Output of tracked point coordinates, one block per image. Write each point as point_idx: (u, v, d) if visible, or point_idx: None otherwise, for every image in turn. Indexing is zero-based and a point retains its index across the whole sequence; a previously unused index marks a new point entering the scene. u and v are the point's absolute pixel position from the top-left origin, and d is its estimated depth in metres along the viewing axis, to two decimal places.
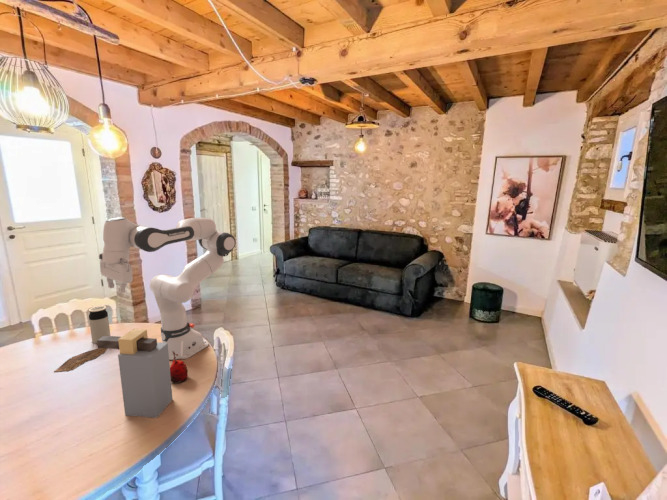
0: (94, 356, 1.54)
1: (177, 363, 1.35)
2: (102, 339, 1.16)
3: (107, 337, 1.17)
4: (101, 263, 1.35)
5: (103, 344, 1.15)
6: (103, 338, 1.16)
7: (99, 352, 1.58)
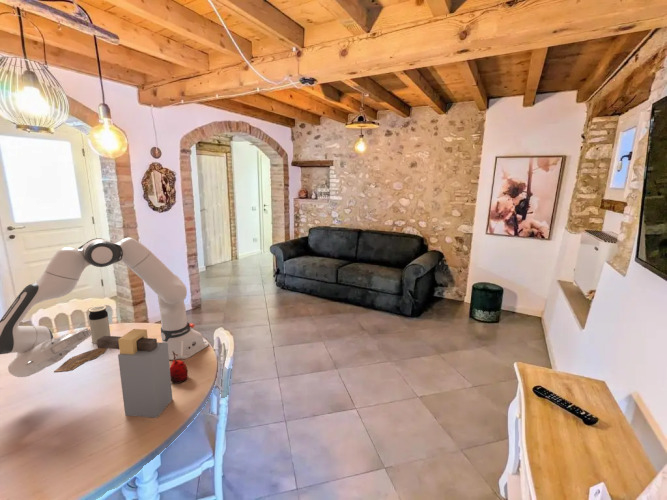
0: (94, 356, 1.54)
1: (177, 363, 1.35)
2: (102, 339, 1.16)
3: (107, 337, 1.17)
4: (79, 342, 1.27)
5: (103, 344, 1.15)
6: (103, 338, 1.16)
7: (99, 352, 1.58)
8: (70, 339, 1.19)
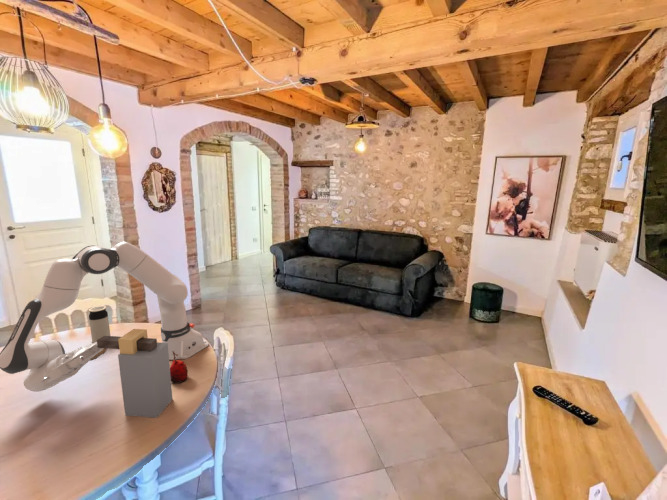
0: (94, 356, 1.54)
1: (177, 363, 1.35)
2: (102, 339, 1.16)
3: (107, 337, 1.17)
4: (93, 356, 1.28)
5: (103, 344, 1.15)
6: (103, 338, 1.16)
7: (99, 352, 1.58)
8: (84, 353, 1.21)
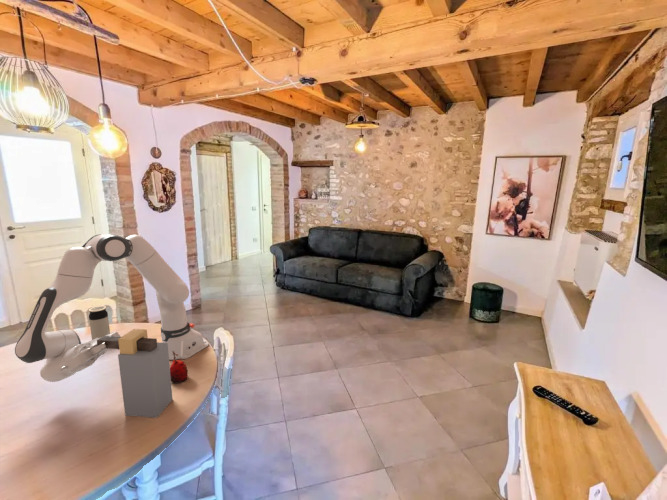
0: None
1: (177, 363, 1.35)
2: (102, 339, 1.16)
3: (107, 337, 1.17)
4: None
5: None
6: (103, 338, 1.16)
7: None
8: None
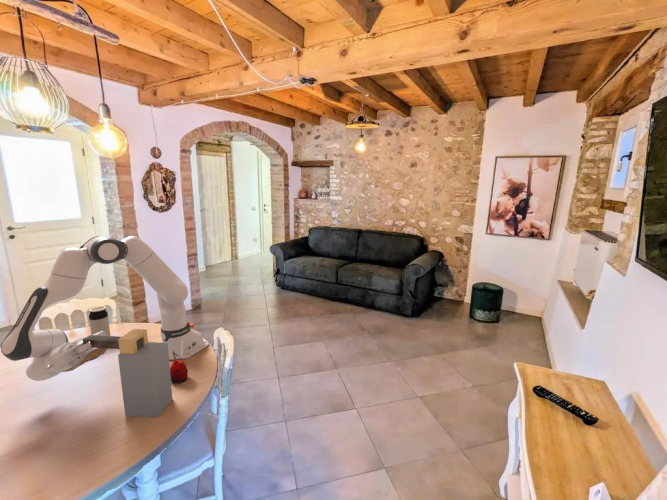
0: (94, 356, 1.54)
1: (177, 363, 1.35)
2: (88, 338, 1.16)
3: (93, 336, 1.17)
4: None
5: None
6: (89, 337, 1.17)
7: (99, 352, 1.58)
8: None
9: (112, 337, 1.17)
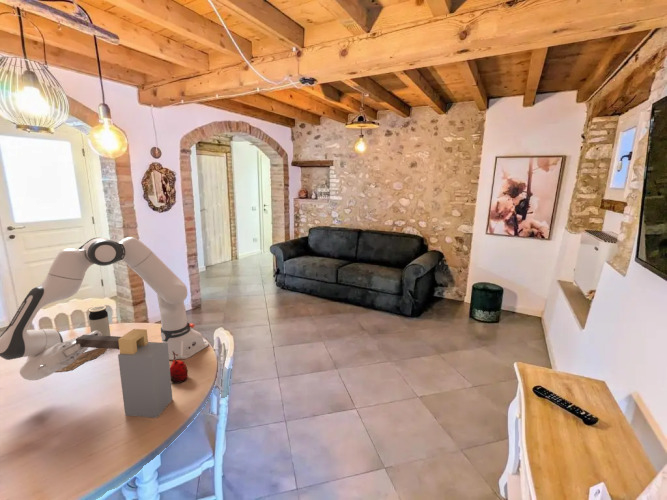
0: (94, 356, 1.54)
1: (177, 363, 1.35)
2: (81, 338, 1.16)
3: (86, 336, 1.18)
4: None
5: (82, 343, 1.16)
6: (83, 337, 1.17)
7: (99, 352, 1.58)
8: None
9: (105, 337, 1.17)
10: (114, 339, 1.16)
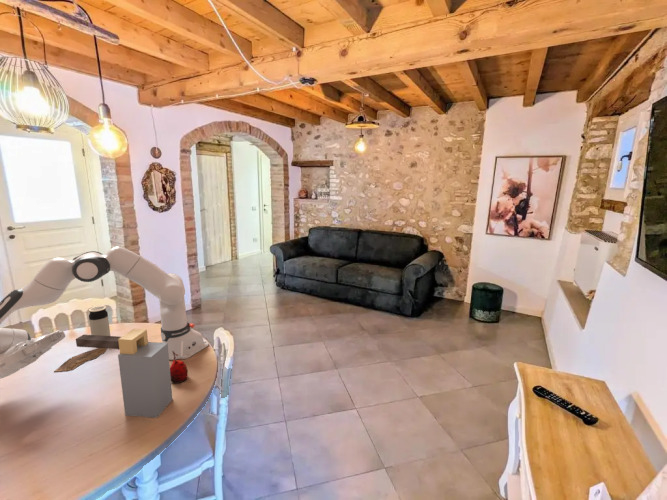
0: (94, 356, 1.54)
1: (177, 363, 1.35)
2: (81, 338, 1.16)
3: (86, 336, 1.18)
4: (54, 344, 1.29)
5: (82, 343, 1.16)
6: (83, 337, 1.17)
7: (99, 352, 1.58)
8: (43, 341, 1.22)
9: (105, 337, 1.17)
10: (114, 339, 1.16)
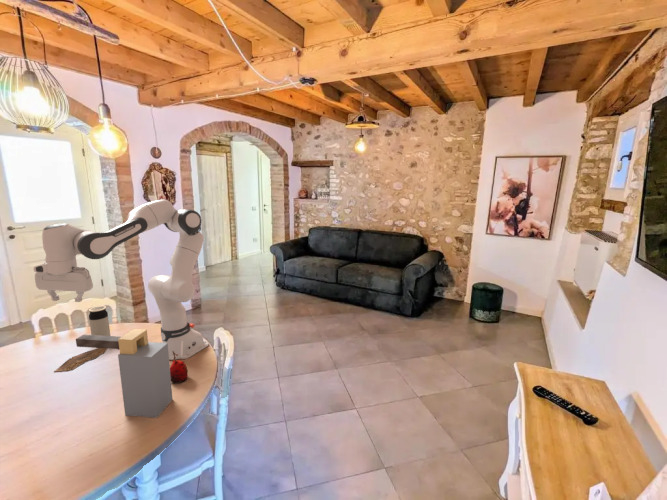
0: (94, 356, 1.54)
1: (177, 363, 1.35)
2: (81, 338, 1.16)
3: (86, 336, 1.18)
4: (37, 276, 1.21)
5: (82, 343, 1.16)
6: (83, 337, 1.17)
7: (99, 352, 1.58)
8: None
9: (105, 337, 1.17)
10: (114, 339, 1.16)
